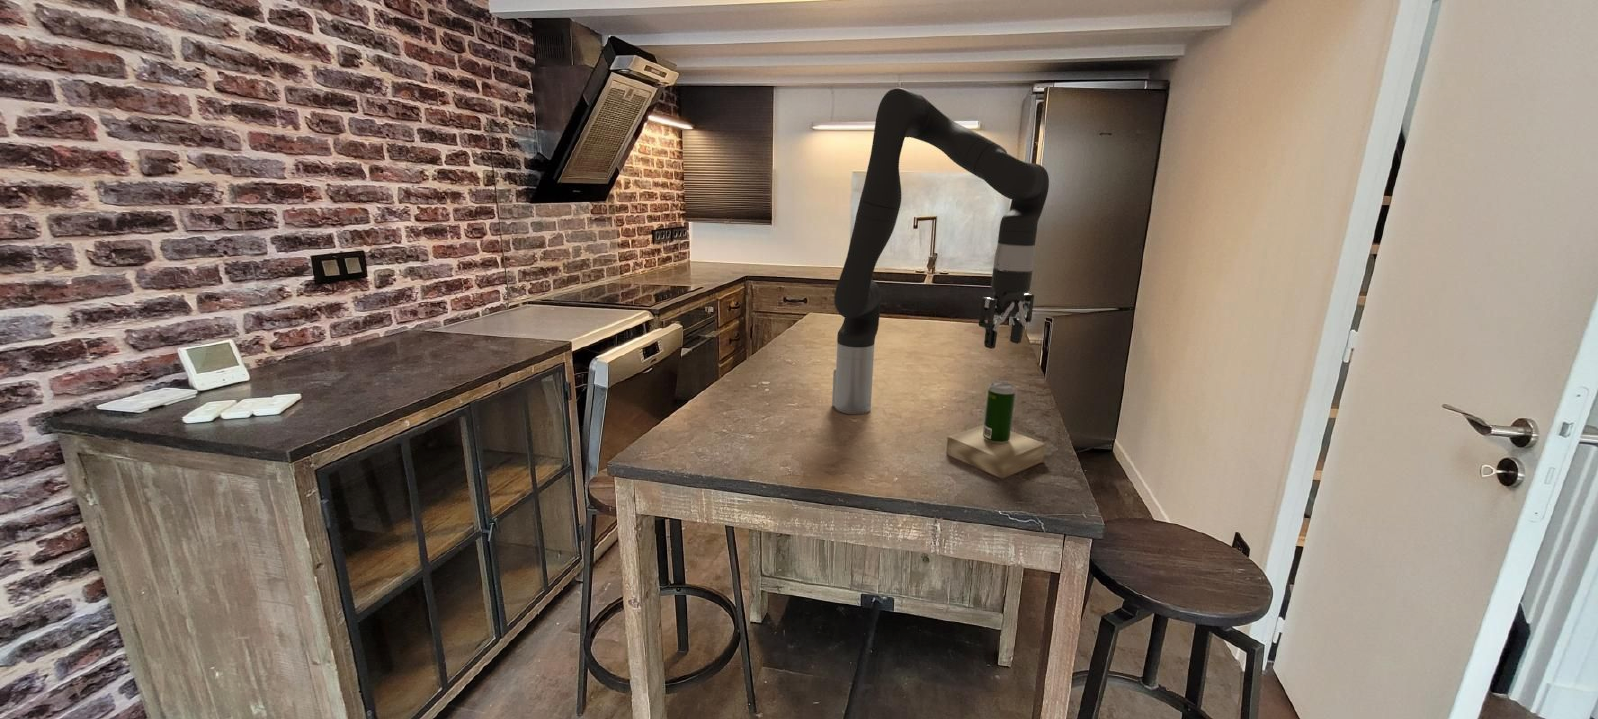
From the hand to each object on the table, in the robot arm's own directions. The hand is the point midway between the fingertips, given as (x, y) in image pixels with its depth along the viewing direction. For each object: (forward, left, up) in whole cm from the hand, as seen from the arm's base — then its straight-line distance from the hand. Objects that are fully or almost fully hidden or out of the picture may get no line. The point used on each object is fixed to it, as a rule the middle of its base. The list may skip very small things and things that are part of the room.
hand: (1002, 345), depth 127 cm
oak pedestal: (+3, -3, -23) cm, 24 cm away
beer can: (+3, -3, -20) cm, 20 cm away
